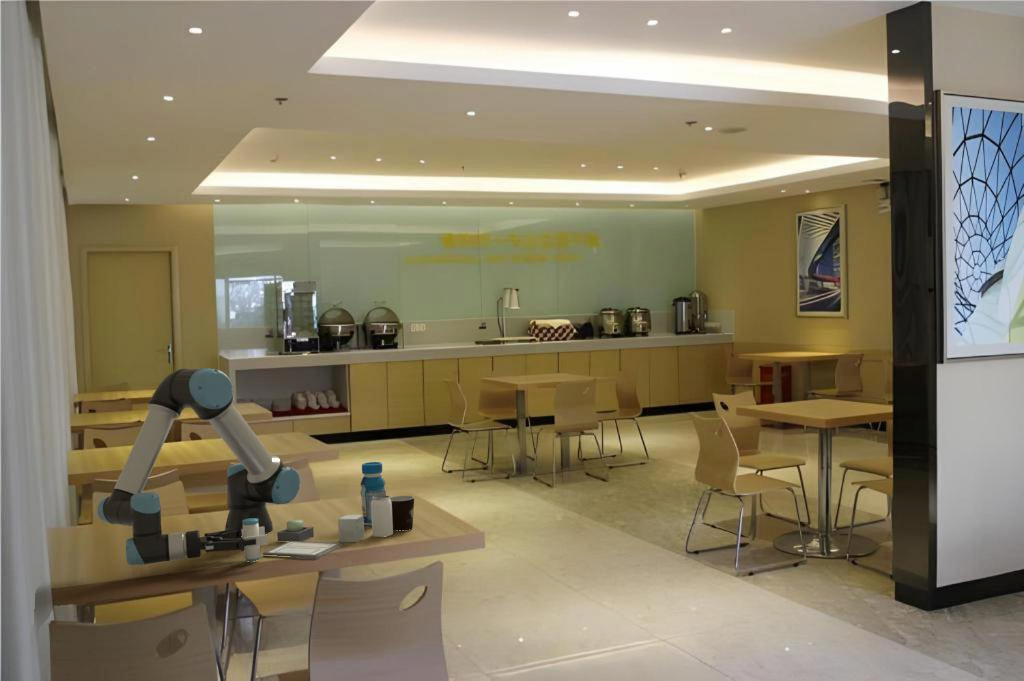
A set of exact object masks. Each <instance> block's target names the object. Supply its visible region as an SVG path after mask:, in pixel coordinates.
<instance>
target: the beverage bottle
mask: <svg viewBox="0 0 1024 681" xmlns="http://www.w3.org/2000/svg"><path fill="white" fill-rule="evenodd" d="M361 472H362V475H363V477H362V478H361V481H360V487H361V489H360V496H361V508H362V510H361V511H362V513H361V514H362V515H363V520H364V526H372V518H371V501H372V498H373V497H376V496H387V488H386V487H385V485H386V480H385V478H384V477H383V475H382V473H383V463H382V462H380V461H370V462H364V463H362V464H361Z"/></svg>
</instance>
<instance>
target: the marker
mask: <svg viewBox="0 0 1024 681" xmlns="http://www.w3.org/2000/svg"><path fill="white" fill-rule="evenodd" d="M251 536H259V522H258V519H257V518H250V519H245V520H243V538H244V537H251ZM243 552H244V559H246V560H245V561H249V562H253V561H256V560H259V561H260V557H261V545H260V546H252V547H244V551H243Z"/></svg>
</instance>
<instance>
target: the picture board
mask: <svg viewBox="0 0 1024 681" xmlns="http://www.w3.org/2000/svg"><path fill="white" fill-rule="evenodd" d="M337 548H338V549H341V548H342V542H325V541H307V540H305V541H289V542H283V543H282V544H279V545H278V546H275V547H273V548H270V549H268V550H266V551H264V552H262V556H263V555H277V556H290V557H297V558H296V559H304V560H318V559H320V558H322V557H324V556H326V555H328V554H330V553H332V552H334V551H336V550H338V549H337ZM335 549H336V550H335Z"/></svg>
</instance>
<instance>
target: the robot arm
mask: <svg viewBox="0 0 1024 681" xmlns="http://www.w3.org/2000/svg"><path fill="white" fill-rule="evenodd" d="M232 389H233V383H232V381H231V379H230V376H228V375H227V374H226V373H224V372H223V371H222V370H220V369H215V368H209V367H204V368H180V369H177V370H173V371H172V372H171V373H169V374H168V375H166V376H165V377H164V379H163V380H162V381H161V382H160V383H159V385H158V386H157V388H156V389H155V391H154V392H153V394H152V396H151V398H150V400H149V402H148V404H147V409H148V413H147V415H146V418H145V419H144V421H143V424H142V426H141V428H140V431H139V433H138V435H137V436H136V439H135V441H134V444H133V445H132V448H131V449H130V452H129V455H128V457H127V460H126V462H125V463H124V465H123V468H122V470H121V472H120V474H119V476H118V479H117V481H116V483H115V485H114V488H113V490H112V491H111V494H110V495H109V496H106V497H104V498H103V499H102V500H100V501H99V503H98V505H97V509H96V511H97V515H98V518H99V519H100V520H101V521H103V522H104V523H109V524H111V525H121V526H127V527H132V537H130V538H127V539H126V540H125V558H126V562H127V564H128V565H130V566H140V565H144V566H146V565H149V564H155V563H162V562H163V563H165V562H171V561H173V562H174V563H176V562H178V560H185V558H187V559H195V558H200V557H201V556H202V555H201V554H202V552H201V550H203V551H205V553H212V552H213V553H214V552H227V551H228V552H229V551H230V552H231V551H242V552H244V547H252V546H260V547H261V546H266V545H269V537H268V533H270V532H272V531H273V530H272V529H273V528H274V527H273V521H272V518H271V516H270V513H269V511H268V508H267V504H273V505H274V504H275V505H286V504H289V503H291V502H292V501H293V500H294V499H295V498H296V496H297V495H298V493H299V491H300V484H301V477H300V474H299V471H297V469H295V468H293V467H291V466H286V465H285V464H284V462H283V461H282V460H281V459H280V457H279V456H277V455H275V454H274V455H273V454H272V455H271V453H270V452H269V451H268V450H267V448H266V447H265V445H264V444H263V442H261V440H260V439H259V438H258V435H256V432H254V430H253V429H252V428H251V426H250V425H249V423H247V421H246V420H245V418H244V417H243V415H242V414H241V413H240V412H239V410H238V409H237V408H236V406H235V405H234V404H233V403H234V401H235V397H234V395H233V394H234V390H232ZM187 408H188V409H189V408H190V409H192V410H193V412H194V413H195V414H196V415H197V417H198V418H199V419H200V420H201V421H203V422H204V421H205V422H207V421H208V422H209V423H210V425H211V426H212V427H213V429H214V431H216V432H217V433H216V434H218V436H220V438H221V439H222V440H223V441H224V444H226V445H227V447H228V448H229V450H230V451H231V452H232V454H233V455H234V456H235V458H236V459H237V460H238V461H239V463H235V464H231V465H229V466H228V467H227V470H226V471H227V472H226V474H227V476H226V482H227V496H228V507H229V508H228V509H229V511H228V515H227V519H226V522H225V526H224V530H219V531H214V532H205V533H204V536H201V535H200V534H201V533H200V531H199V530H197V529H196V530H191V531H189V530H188V531H186V532H185V533H184V532H183V531H179V532H171V533H165V534H164V533H163V532H162V531H163V530H162V505H161V502H160V501H161V500H160V495H159V494H158V493H157V492H150V491H149V492H143V491H144V489H145V487H146V484H147V482H148V479H149V478H150V475H151V472H152V470H153V468H154V466H155V464H156V461H157V460H158V457H159V455H160V453H161V450H162V448H163V445H164V443H165V441H166V439H167V438H168V434H169V432H170V430H171V428H172V426H173V423H174V421H175V420H177V419H179V418H180V416H181V415H182V412H183V411H184V410H185V409H187ZM250 518H257V519H258V522H259V536H251V537H244V538H243V520H245V519H250ZM271 530H272V531H271ZM269 531H270V532H269ZM266 532H268V533H266ZM241 536H242V537H241Z"/></svg>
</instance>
